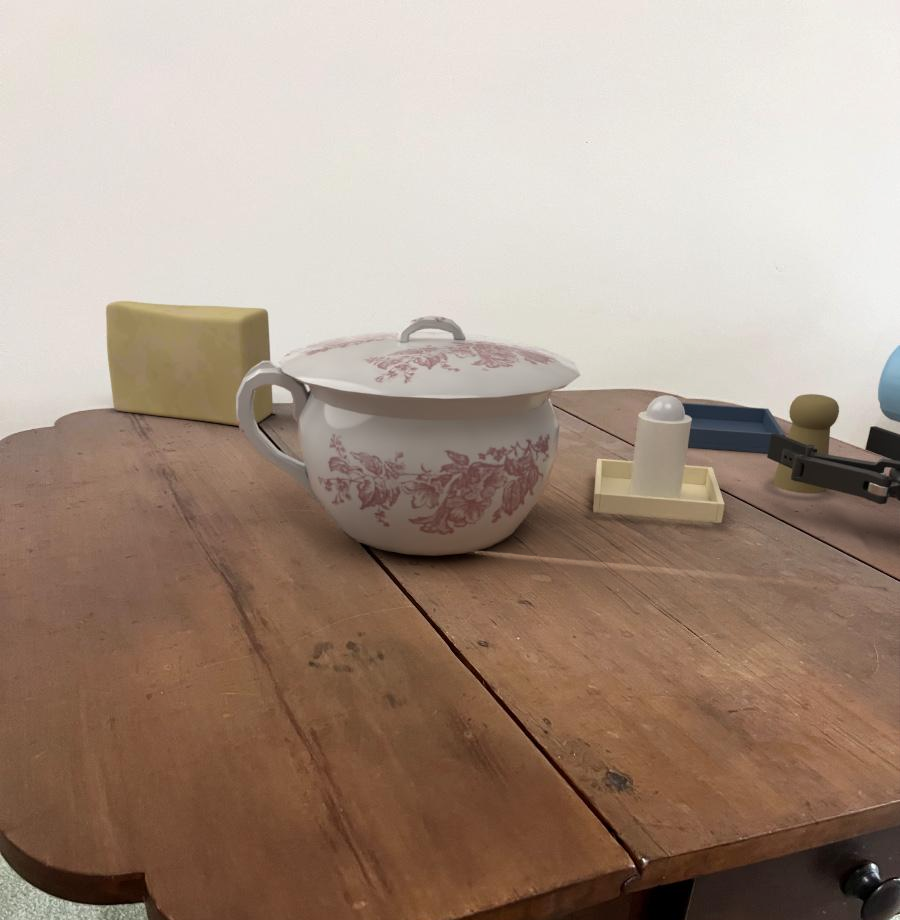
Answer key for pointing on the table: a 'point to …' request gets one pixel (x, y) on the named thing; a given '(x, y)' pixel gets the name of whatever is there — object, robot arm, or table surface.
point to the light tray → (695, 502)
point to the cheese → (185, 359)
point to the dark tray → (731, 427)
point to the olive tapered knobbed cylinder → (808, 434)
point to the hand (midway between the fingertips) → (821, 441)
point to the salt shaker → (660, 449)
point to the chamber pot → (418, 433)
